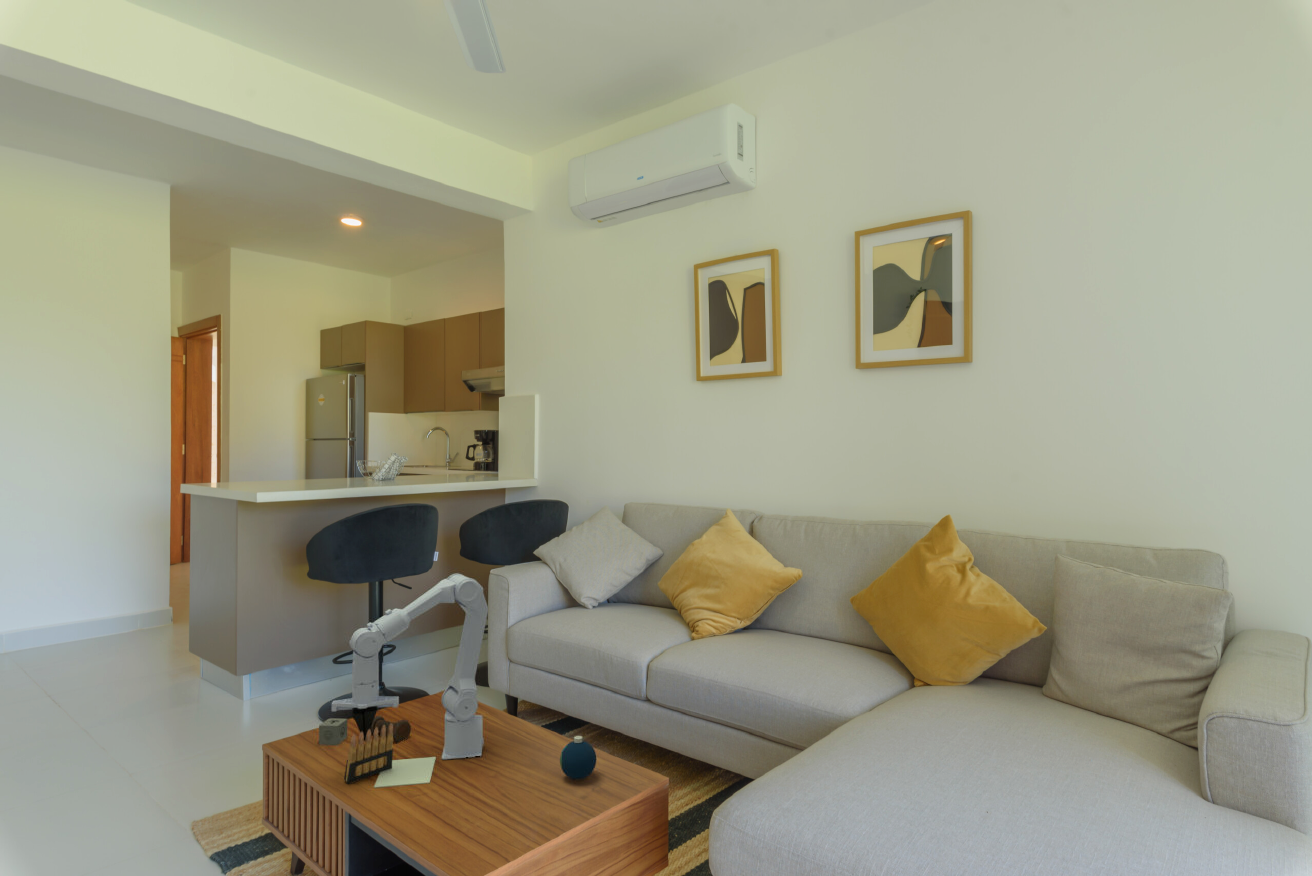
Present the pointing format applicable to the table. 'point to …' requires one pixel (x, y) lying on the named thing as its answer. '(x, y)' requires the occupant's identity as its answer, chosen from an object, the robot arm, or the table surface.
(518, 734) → the table surface
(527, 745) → the table surface
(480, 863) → the table surface
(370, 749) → the ammunition clip
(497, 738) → the table surface
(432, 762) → the mat
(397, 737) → the bolt
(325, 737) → the dice cube
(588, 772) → the christmas ornament
